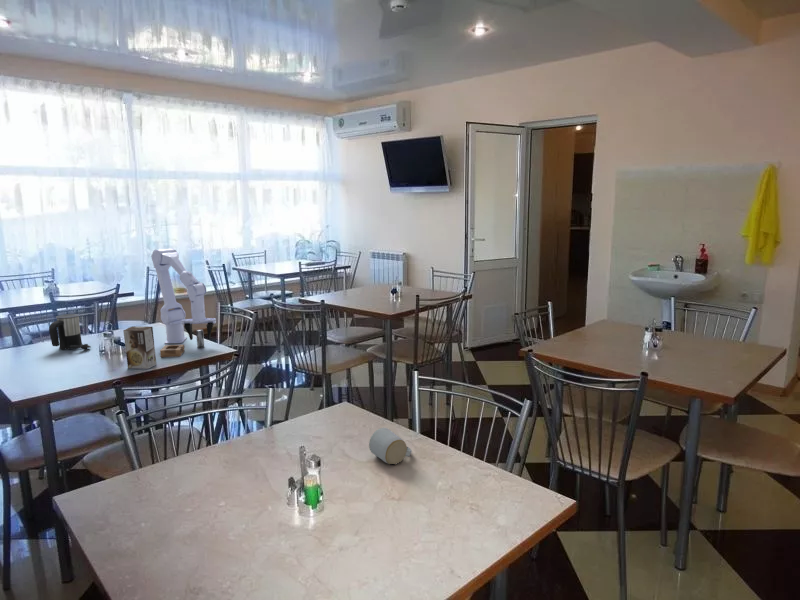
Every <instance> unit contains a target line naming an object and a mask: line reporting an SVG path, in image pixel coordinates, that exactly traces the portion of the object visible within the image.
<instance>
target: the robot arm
mask: <svg viewBox="0 0 800 600" xmlns="http://www.w3.org/2000/svg"><path fill="white" fill-rule="evenodd" d="M150 257H151V261H152V264H153V268H154V269H155V273H156V276H157V279H158V283H159V287H160V292H161V295H162V300H163V306H162V307H161V308H160V310H159V311H160V320H161V322H162V323H163V325H165V331H166V332H165V333H166V340H165V341H164V345H170V344H182V343H184V342H185V340H186V339H187V338H188V337H189V340H190V341H192V340H193V339H194V335H193V325H197V324H198V325H199V324H201V325H202V324H206V330H207V340H210V339H211V333H212V330H213V328H214V325H215V324H216V323H217V318H215V317H213V318H212V317H210V318H209V317H206V310H205V307H206V306H205V296H206V293H207V287H206V284H205V283H204V282H201V281H198V280H197V278H196V277H195V276H194V274H193V272H191V271H189V270H187V268H185V267H184V265H183V263H182V262H181V260H180V259H179V253H178V251H177V249H175V248H174V247H170V248H160V249H154V250H153V251H152V254H151V256H150ZM171 267H172V268H173V269H174V271H175V272H176V273H177V274H178V275H179V281H180V282H181V283H182V285H184V286H185V288H186V289H187V290H186V294H187V296H188V300H189V301H190V312H191V318H186V316H187V314H186V311H185V310H184V308H183V305H182V304H181V303H179V302H177V299H176V294H175V290H174V287H173V283H172V279H171V274H170V271H169V269H170V268H171ZM185 330H186V332H187V334H188V337H187V336H185Z"/></svg>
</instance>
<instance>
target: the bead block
mask: <svg viewBox="0 0 800 600" xmlns="http://www.w3.org/2000/svg"><path fill="white" fill-rule="evenodd" d="M185 350H186V349H185V344H164V345H163V347H162V348H160V350H159V355H160V357H161V358H166V357H167V358H169V357H170V358H171V357H181V356H182V355H183V354H182V353H184V352H185Z"/></svg>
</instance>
